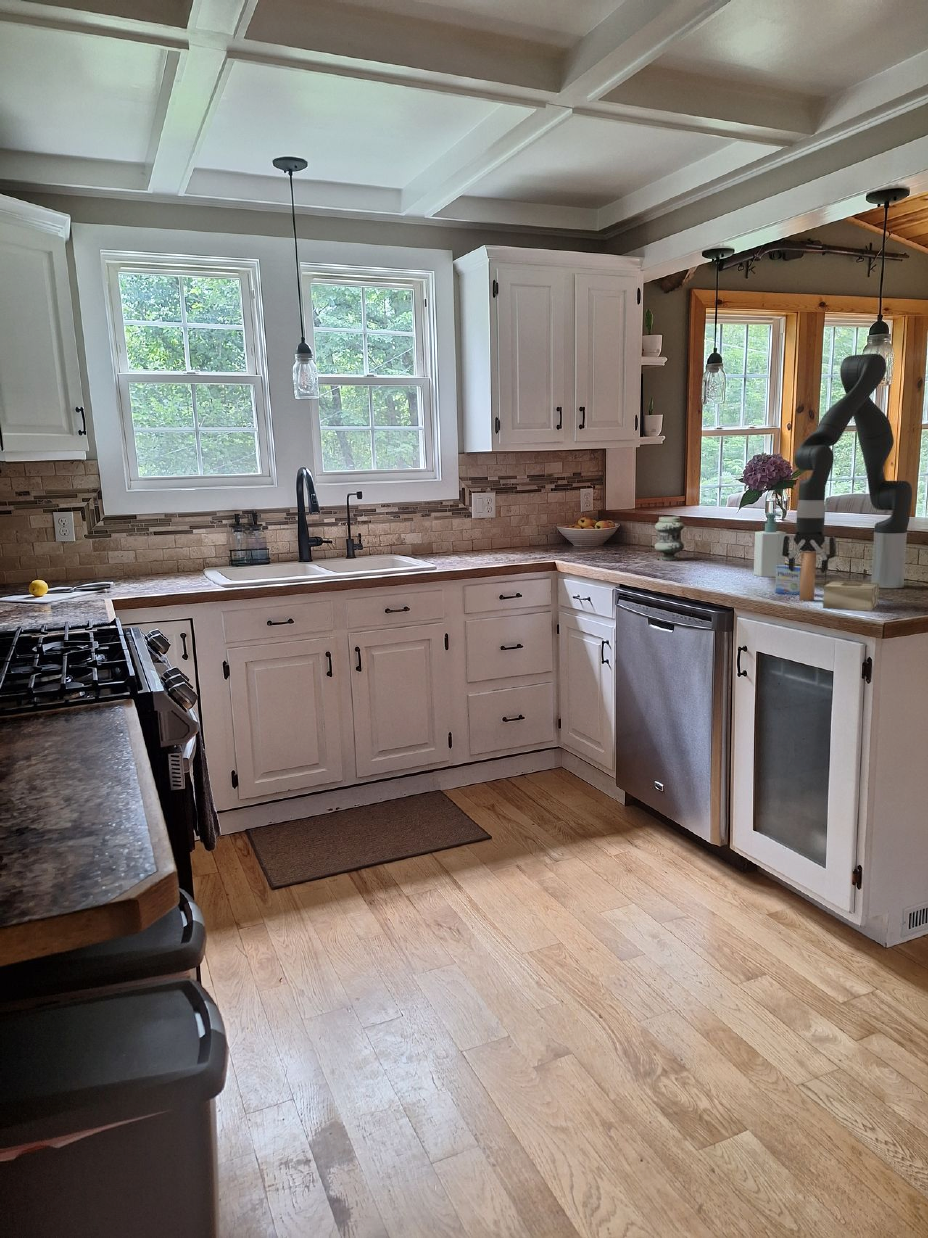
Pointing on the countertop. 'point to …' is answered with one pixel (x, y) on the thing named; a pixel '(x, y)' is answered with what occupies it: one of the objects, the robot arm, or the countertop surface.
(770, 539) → the soap bottle
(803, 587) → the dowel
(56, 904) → the countertop surface
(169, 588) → the countertop surface
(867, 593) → the socket block
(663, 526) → the apothecary jar
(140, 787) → the countertop surface
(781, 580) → the medicine box
